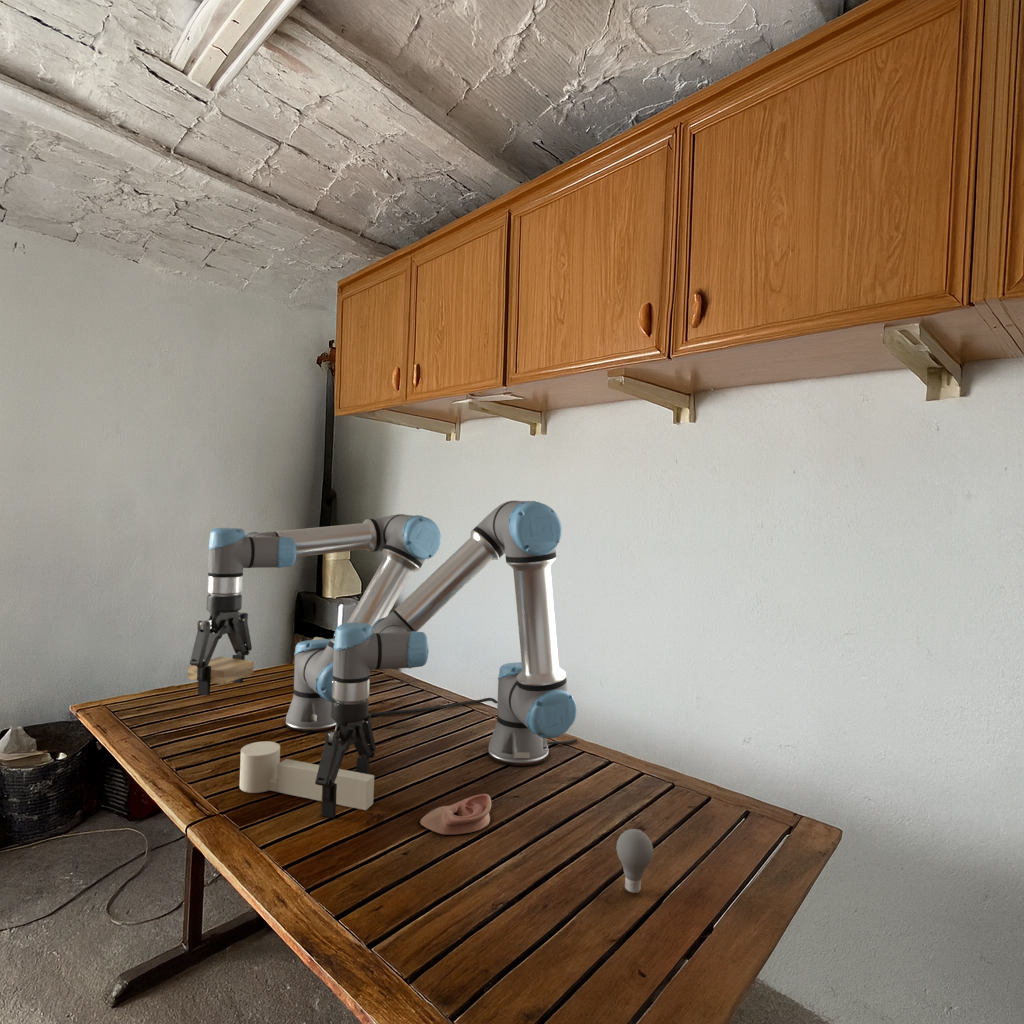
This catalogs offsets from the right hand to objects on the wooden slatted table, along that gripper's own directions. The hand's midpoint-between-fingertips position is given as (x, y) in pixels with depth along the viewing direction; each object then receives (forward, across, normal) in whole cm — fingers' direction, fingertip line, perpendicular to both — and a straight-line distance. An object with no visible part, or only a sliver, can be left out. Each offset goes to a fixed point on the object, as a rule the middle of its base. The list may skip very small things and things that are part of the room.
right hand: (345, 801), depth 132 cm
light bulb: (0, +9, +60) cm, 61 cm away
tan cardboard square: (-20, -7, -38) cm, 44 cm away
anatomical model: (0, -1, +24) cm, 24 cm away
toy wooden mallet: (0, 0, -10) cm, 10 cm away
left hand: (-17, -7, -38) cm, 42 cm away
